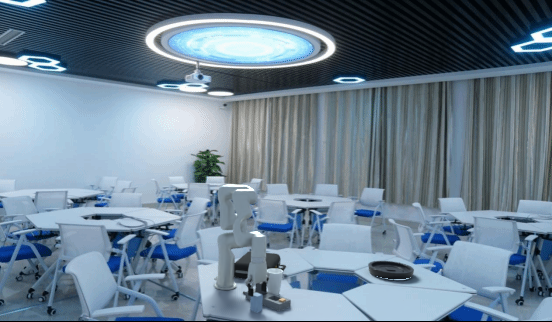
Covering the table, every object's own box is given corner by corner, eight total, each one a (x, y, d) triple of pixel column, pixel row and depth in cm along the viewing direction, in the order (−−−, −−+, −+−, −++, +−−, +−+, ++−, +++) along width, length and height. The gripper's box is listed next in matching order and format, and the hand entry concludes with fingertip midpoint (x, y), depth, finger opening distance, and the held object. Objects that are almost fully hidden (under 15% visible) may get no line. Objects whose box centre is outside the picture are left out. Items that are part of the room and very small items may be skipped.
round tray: (420, 283, 251) (405, 269, 281) (420, 273, 251) (405, 261, 281) (373, 280, 252) (363, 267, 282) (373, 271, 252) (364, 259, 282)
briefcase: (279, 284, 237) (280, 268, 237) (230, 278, 244) (230, 262, 244) (289, 268, 272) (290, 253, 272) (246, 263, 279) (247, 249, 279)
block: (250, 310, 196) (250, 294, 195) (255, 307, 199) (256, 292, 198) (256, 312, 193) (257, 296, 193) (262, 310, 196) (262, 294, 196)
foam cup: (271, 298, 213) (272, 274, 213) (262, 292, 221) (263, 269, 220) (285, 294, 219) (286, 271, 219) (275, 289, 226) (276, 267, 226)
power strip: (237, 295, 215) (238, 278, 215) (249, 291, 222) (249, 274, 222) (279, 311, 196) (280, 292, 195) (290, 306, 202) (291, 288, 202)
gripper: (264, 255, 204) (263, 288, 204) (240, 261, 191) (239, 296, 191) (275, 257, 199) (274, 291, 199) (251, 263, 186) (250, 299, 186)
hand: (257, 293), depth 195 cm, fingers open, 9 cm apart
